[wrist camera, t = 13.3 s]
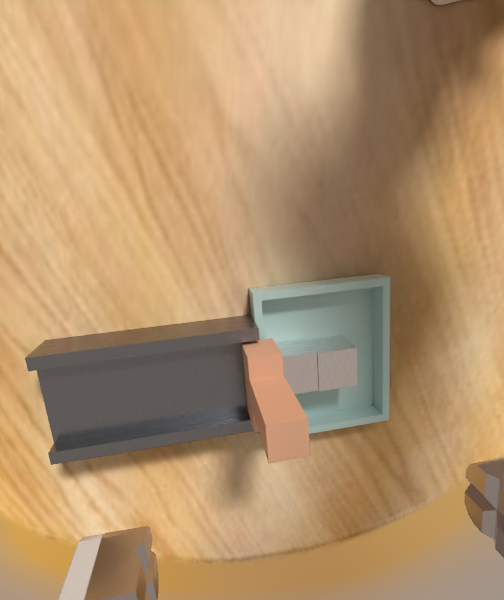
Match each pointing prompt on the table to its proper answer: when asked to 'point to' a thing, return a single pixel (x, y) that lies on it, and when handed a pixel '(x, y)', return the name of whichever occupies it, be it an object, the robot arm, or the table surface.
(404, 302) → the table surface
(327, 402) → the tray
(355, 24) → the table surface
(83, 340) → the slot rail
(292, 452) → the stepped pink block
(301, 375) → the light grey cube
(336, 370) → the pale grey cube
